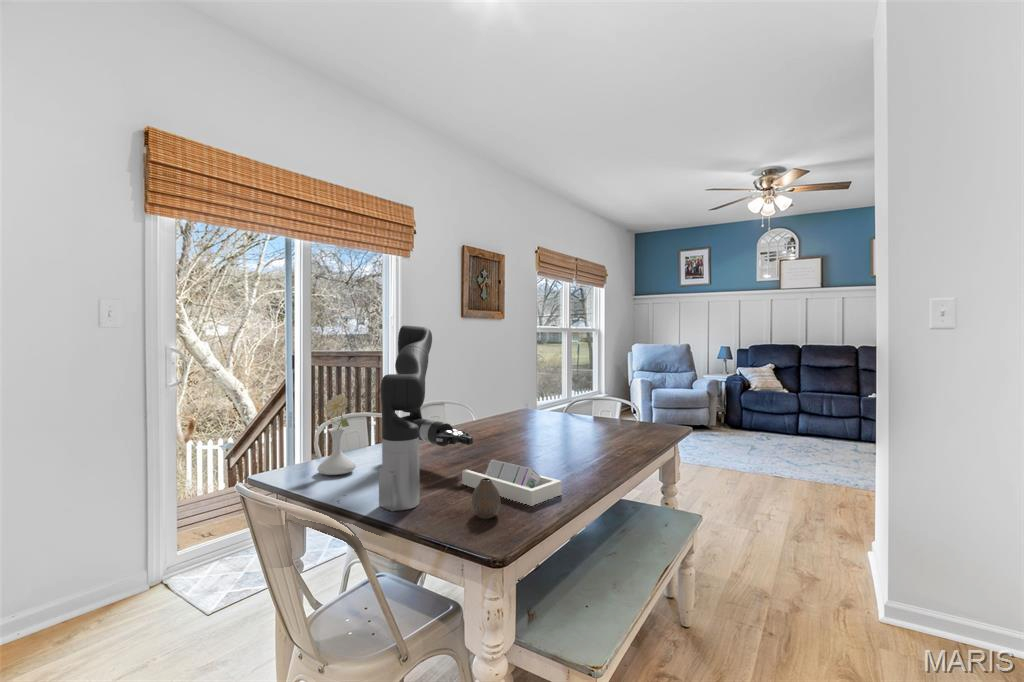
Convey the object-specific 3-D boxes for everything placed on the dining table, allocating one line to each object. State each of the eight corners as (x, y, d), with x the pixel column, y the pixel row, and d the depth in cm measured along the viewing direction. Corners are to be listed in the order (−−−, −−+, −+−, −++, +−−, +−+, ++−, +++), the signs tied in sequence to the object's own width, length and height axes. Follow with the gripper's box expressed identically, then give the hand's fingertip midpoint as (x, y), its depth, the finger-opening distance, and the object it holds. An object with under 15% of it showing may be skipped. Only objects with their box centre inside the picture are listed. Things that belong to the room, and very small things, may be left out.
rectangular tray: (531, 507, 124) (531, 491, 124) (462, 484, 143) (462, 470, 143) (561, 495, 132) (561, 480, 132) (492, 475, 151) (492, 462, 151)
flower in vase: (311, 472, 154) (311, 393, 154) (347, 466, 162) (346, 390, 162) (327, 482, 145) (327, 397, 144) (364, 474, 152) (364, 393, 152)
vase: (500, 510, 122) (500, 475, 121) (500, 521, 115) (500, 483, 115) (472, 510, 121) (472, 475, 121) (470, 521, 114) (470, 483, 114)
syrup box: (483, 477, 138) (523, 489, 129) (491, 458, 141) (531, 468, 131) (494, 485, 142) (534, 496, 133) (502, 465, 144) (541, 475, 135)
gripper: (419, 424, 156) (453, 432, 144) (452, 418, 166) (487, 425, 154) (419, 447, 157) (453, 457, 144) (452, 441, 166) (487, 449, 154)
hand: (470, 441), depth 149 cm, fingers closed
